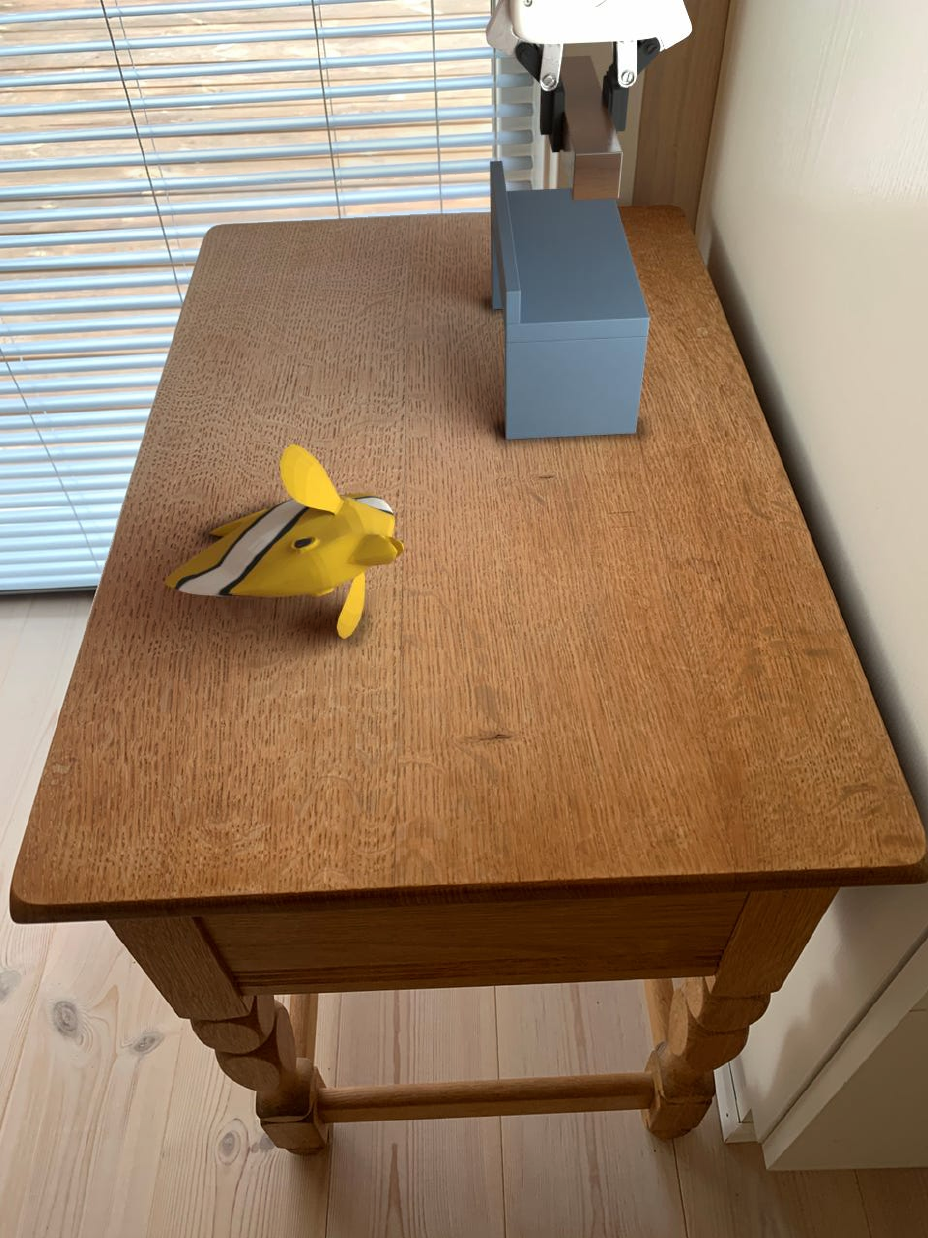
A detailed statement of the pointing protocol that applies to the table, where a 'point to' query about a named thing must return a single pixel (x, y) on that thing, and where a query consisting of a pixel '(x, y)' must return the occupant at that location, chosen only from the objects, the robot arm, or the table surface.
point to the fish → (298, 544)
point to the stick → (588, 134)
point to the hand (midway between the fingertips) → (581, 140)
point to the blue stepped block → (566, 313)
